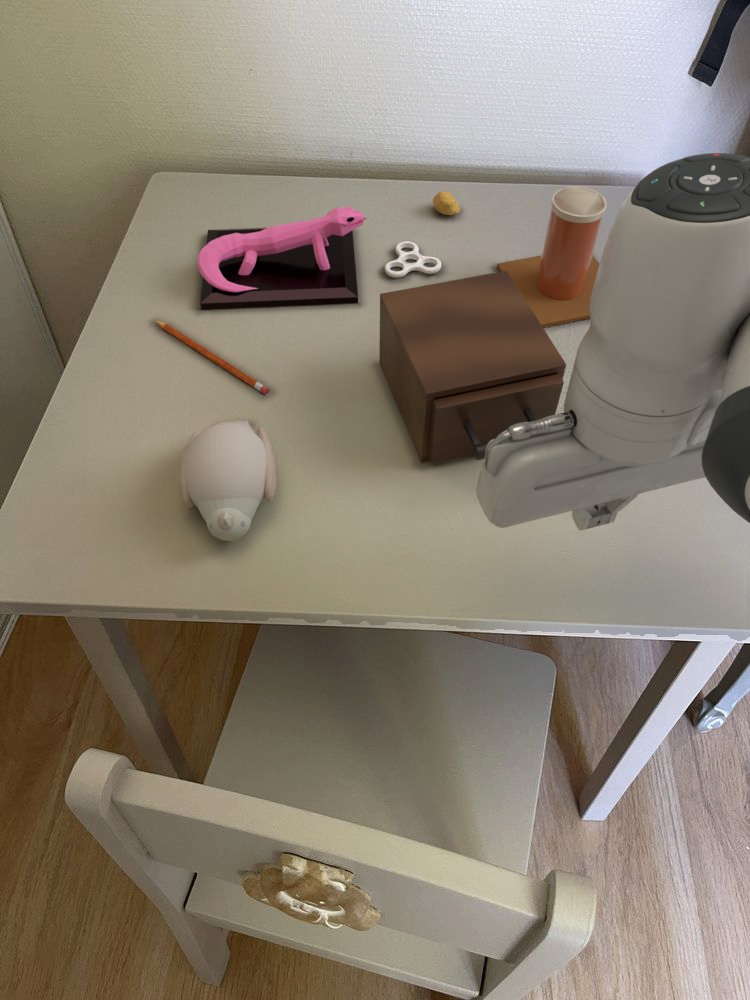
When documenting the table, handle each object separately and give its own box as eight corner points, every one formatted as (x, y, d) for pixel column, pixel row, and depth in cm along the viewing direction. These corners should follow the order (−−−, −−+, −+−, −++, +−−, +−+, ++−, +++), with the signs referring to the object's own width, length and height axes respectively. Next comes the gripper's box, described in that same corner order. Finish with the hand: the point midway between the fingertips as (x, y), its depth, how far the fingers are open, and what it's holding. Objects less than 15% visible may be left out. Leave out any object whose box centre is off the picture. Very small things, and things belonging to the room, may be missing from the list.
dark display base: (370, 302, 91) (370, 249, 85) (199, 309, 90) (187, 256, 85) (363, 230, 100) (362, 176, 94) (207, 236, 99) (197, 182, 93)
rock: (455, 222, 101) (457, 202, 99) (427, 214, 102) (428, 194, 100) (465, 209, 103) (467, 189, 101) (437, 201, 104) (439, 181, 102)
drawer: (566, 470, 75) (584, 413, 69) (445, 498, 73) (452, 443, 66) (498, 350, 85) (508, 291, 79) (390, 371, 83) (392, 313, 77)
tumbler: (571, 266, 95) (592, 182, 86) (592, 295, 91) (616, 211, 82) (527, 274, 94) (543, 190, 85) (547, 304, 90) (565, 220, 81)
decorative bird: (187, 560, 70) (169, 510, 64) (186, 429, 79) (171, 375, 73) (285, 548, 70) (277, 498, 64) (272, 420, 80) (264, 366, 74)
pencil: (264, 395, 82) (263, 391, 82) (153, 324, 89) (152, 319, 89) (269, 391, 83) (269, 387, 82) (159, 320, 89) (157, 316, 89)
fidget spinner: (387, 280, 94) (387, 274, 93) (377, 248, 98) (377, 243, 97) (443, 273, 94) (444, 268, 94) (431, 242, 98) (431, 237, 98)
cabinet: (548, 434, 79) (566, 364, 71) (420, 463, 76) (426, 393, 69) (495, 341, 87) (506, 270, 80) (379, 364, 85) (379, 293, 77)
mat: (585, 251, 98) (586, 247, 97) (630, 310, 91) (631, 306, 90) (496, 267, 95) (497, 263, 95) (535, 329, 89) (536, 325, 88)
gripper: (507, 468, 49) (486, 583, 60) (792, 400, 52) (722, 521, 63) (472, 399, 52) (458, 520, 63) (740, 340, 56) (683, 464, 67)
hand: (591, 520), depth 63 cm, fingers closed
